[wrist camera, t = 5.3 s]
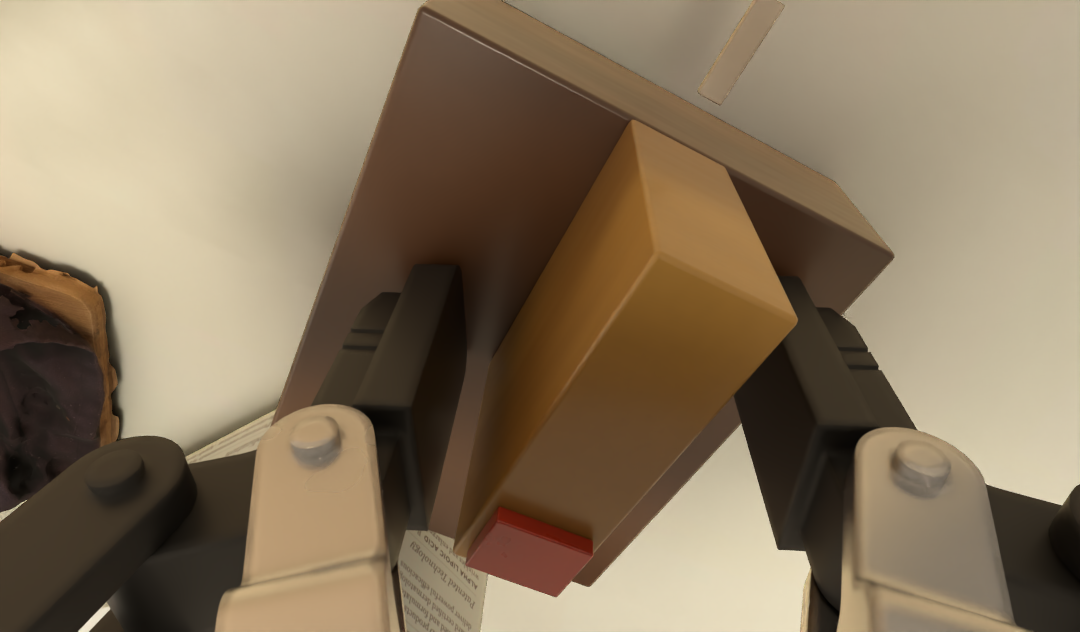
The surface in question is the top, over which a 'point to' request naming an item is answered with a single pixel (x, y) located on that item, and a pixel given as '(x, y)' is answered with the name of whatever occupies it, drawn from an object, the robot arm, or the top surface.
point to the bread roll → (50, 377)
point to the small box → (424, 561)
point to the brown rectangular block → (547, 202)
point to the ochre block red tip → (616, 360)
